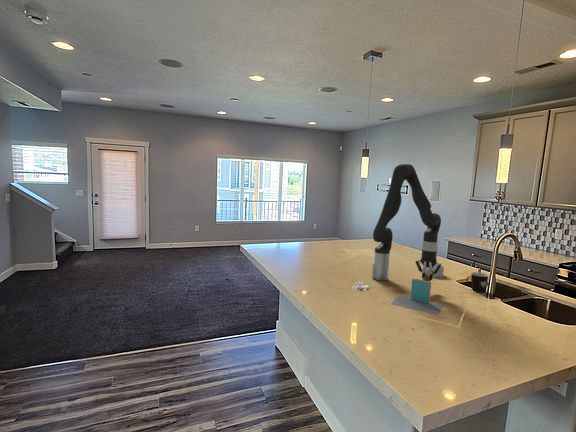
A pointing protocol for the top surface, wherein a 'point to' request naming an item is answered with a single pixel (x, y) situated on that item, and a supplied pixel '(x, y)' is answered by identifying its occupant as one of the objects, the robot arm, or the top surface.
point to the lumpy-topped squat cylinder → (440, 271)
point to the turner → (427, 275)
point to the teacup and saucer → (359, 286)
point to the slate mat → (418, 305)
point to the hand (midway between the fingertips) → (427, 279)
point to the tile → (420, 290)
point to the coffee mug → (478, 281)
